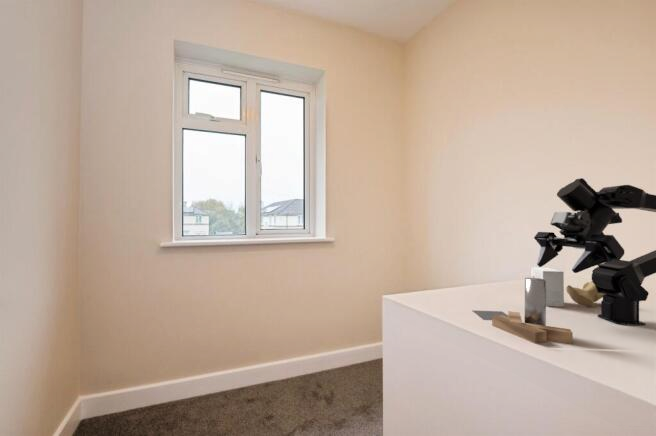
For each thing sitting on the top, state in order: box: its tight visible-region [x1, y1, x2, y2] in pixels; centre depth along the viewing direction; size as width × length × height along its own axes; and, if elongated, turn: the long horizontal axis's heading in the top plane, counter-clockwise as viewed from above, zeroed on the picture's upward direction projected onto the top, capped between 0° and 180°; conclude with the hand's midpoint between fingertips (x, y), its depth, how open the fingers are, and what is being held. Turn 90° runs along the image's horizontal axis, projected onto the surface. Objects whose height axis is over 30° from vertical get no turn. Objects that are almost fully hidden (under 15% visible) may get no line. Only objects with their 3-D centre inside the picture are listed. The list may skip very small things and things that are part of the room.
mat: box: [471, 309, 508, 321], centre depth 81 cm, size 8×8×1 cm
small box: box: [530, 266, 565, 308], centre depth 95 cm, size 8×6×10 cm
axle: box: [524, 277, 547, 326], centre depth 70 cm, size 4×4×12 cm
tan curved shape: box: [565, 280, 605, 308], centre depth 94 cm, size 8×7×12 cm
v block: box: [491, 310, 574, 345], centre depth 69 cm, size 9×15×2 cm, turn 17°
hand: (555, 268), depth 76 cm, fingers open, 9 cm apart
